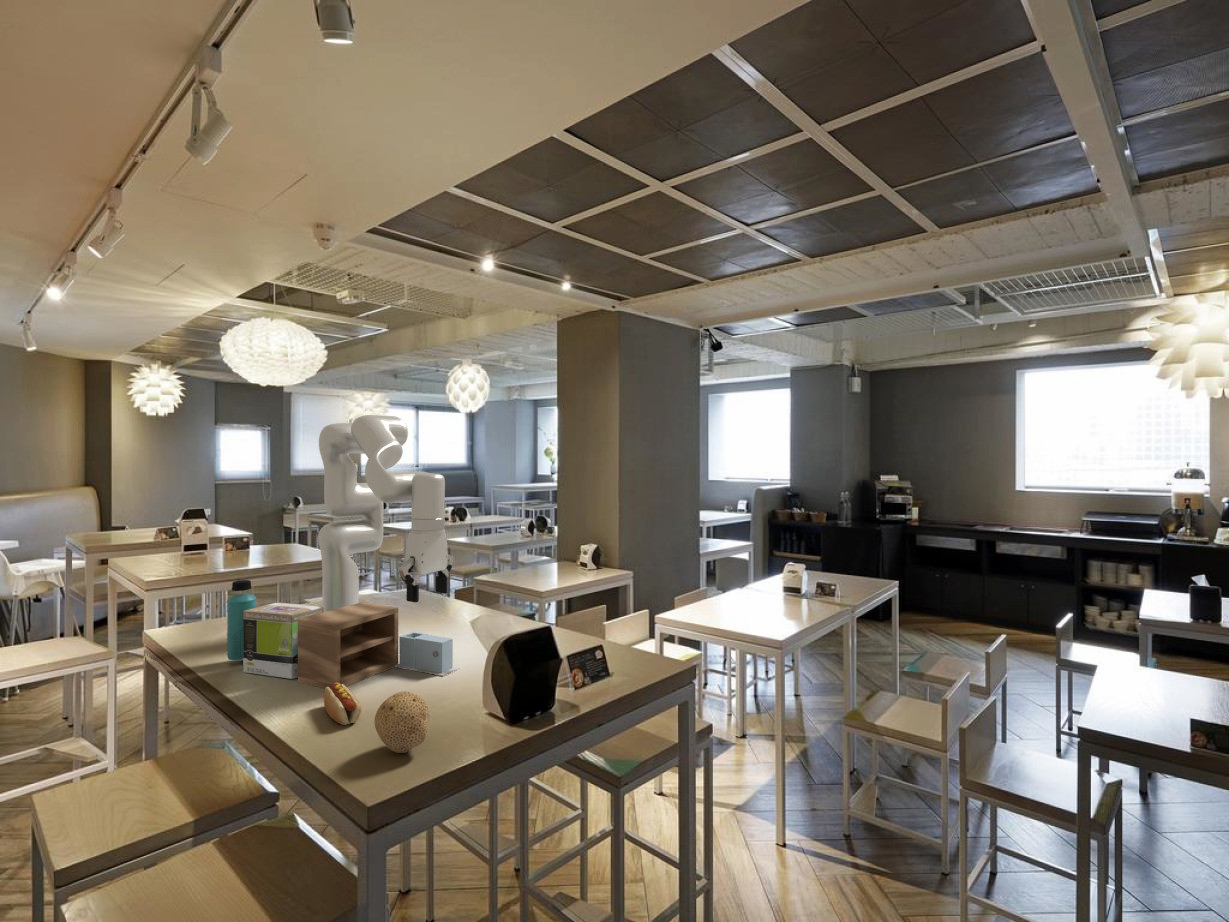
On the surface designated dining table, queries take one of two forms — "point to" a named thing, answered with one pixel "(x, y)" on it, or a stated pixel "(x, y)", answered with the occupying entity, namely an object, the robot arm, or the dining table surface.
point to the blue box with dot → (426, 652)
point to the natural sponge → (402, 721)
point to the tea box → (274, 638)
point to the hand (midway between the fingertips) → (427, 597)
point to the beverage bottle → (237, 618)
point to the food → (341, 704)
